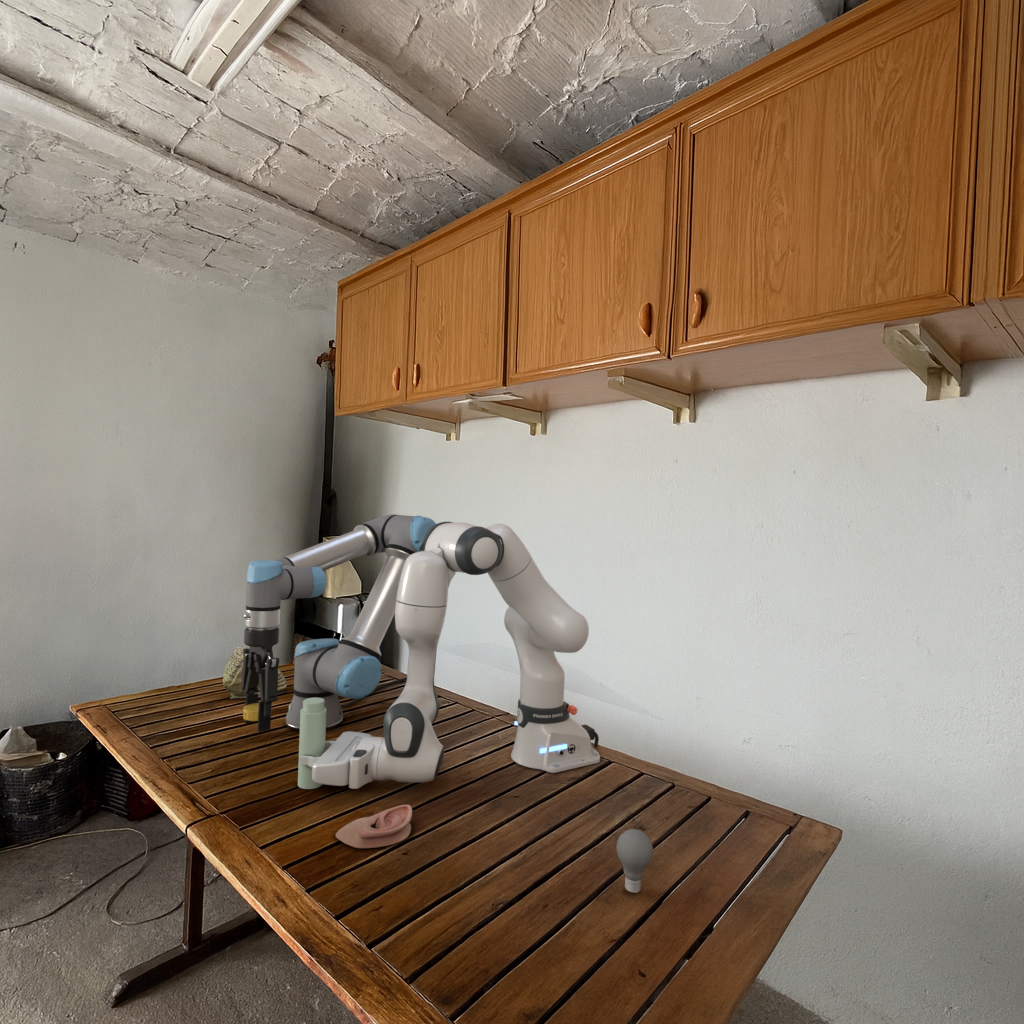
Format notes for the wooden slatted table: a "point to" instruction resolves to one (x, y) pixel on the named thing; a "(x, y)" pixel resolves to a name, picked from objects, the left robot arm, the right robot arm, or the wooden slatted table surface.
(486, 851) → the wooden slatted table surface
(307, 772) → the pale green bottle
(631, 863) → the light bulb
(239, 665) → the fossil
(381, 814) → the anatomical model
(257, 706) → the lid
